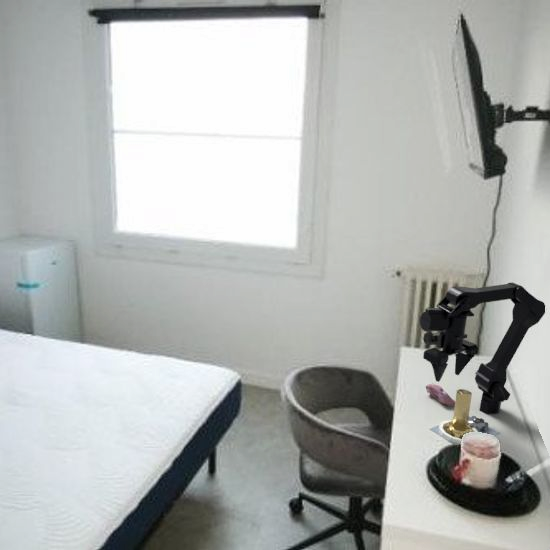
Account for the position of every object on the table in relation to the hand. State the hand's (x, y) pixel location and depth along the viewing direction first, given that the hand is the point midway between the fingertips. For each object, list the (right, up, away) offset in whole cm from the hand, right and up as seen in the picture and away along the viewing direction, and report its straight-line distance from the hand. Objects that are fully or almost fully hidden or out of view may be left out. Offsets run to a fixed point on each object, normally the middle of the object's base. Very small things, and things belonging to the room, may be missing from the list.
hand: (447, 377), depth 154 cm
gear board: (+3, -15, -6) cm, 17 cm away
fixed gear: (+7, -14, -4) cm, 16 cm away
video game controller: (+2, -11, +12) cm, 16 cm away
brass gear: (+1, -14, -8) cm, 16 cm away
